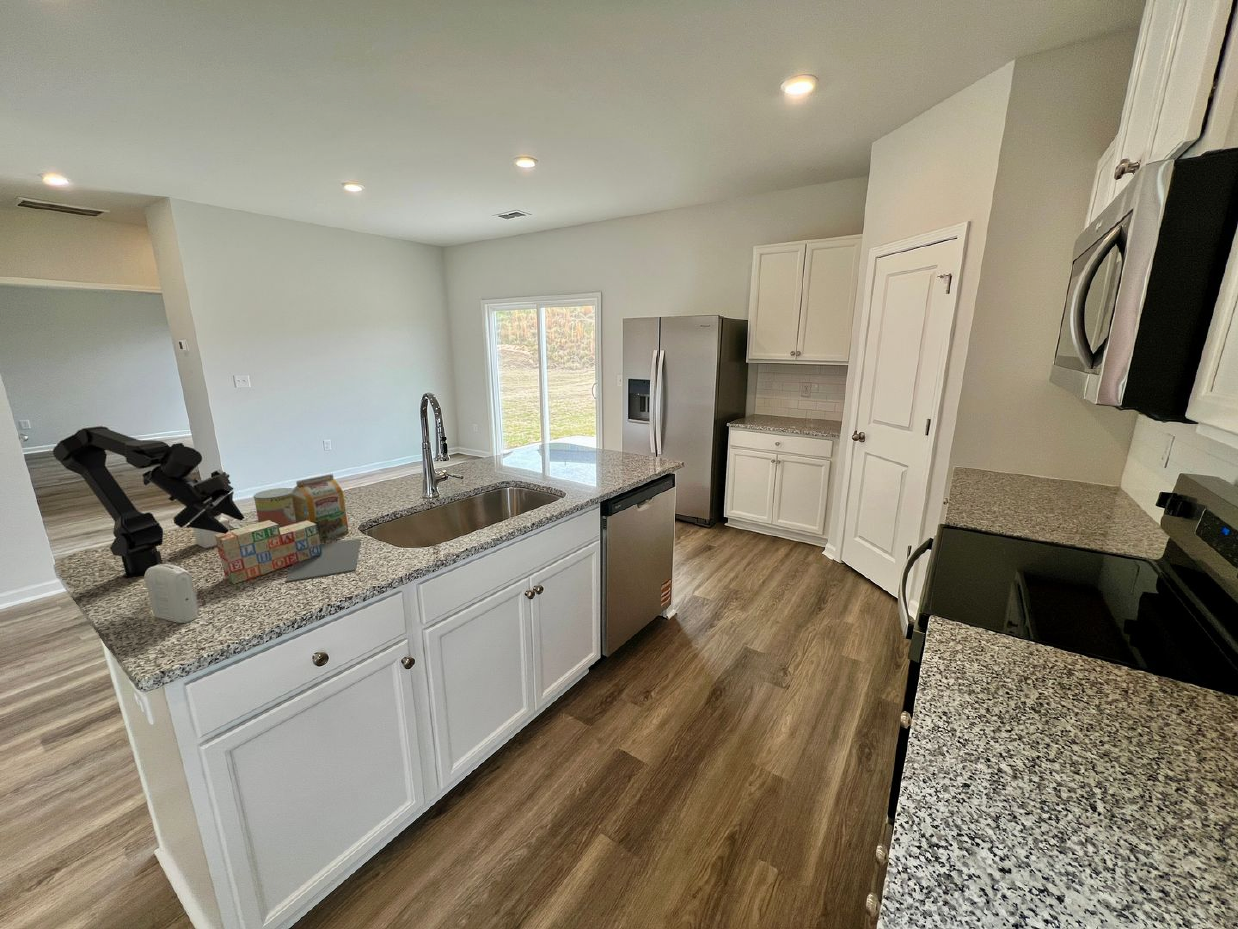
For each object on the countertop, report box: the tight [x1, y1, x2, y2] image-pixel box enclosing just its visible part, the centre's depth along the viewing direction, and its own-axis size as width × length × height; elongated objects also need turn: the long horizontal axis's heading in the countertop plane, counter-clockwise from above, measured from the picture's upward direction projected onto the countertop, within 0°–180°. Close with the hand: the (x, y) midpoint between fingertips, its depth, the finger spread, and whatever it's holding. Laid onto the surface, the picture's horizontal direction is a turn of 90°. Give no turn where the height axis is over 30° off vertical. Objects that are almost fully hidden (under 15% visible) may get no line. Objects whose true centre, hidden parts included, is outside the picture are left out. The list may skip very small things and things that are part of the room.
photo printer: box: [143, 563, 200, 624], centre depth 108 cm, size 10×4×12 cm, turn 72°
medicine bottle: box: [192, 506, 232, 549], centre depth 150 cm, size 7×7×12 cm
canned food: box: [253, 487, 296, 528], centre depth 163 cm, size 11×11×12 cm
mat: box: [285, 538, 361, 583], centre depth 139 cm, size 16×24×1 cm, turn 24°
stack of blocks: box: [215, 520, 322, 585], centre depth 133 cm, size 21×6×12 cm, turn 143°
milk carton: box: [292, 473, 350, 543], centre depth 155 cm, size 11×11×19 cm
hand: (235, 525), depth 129 cm, fingers open, 9 cm apart
